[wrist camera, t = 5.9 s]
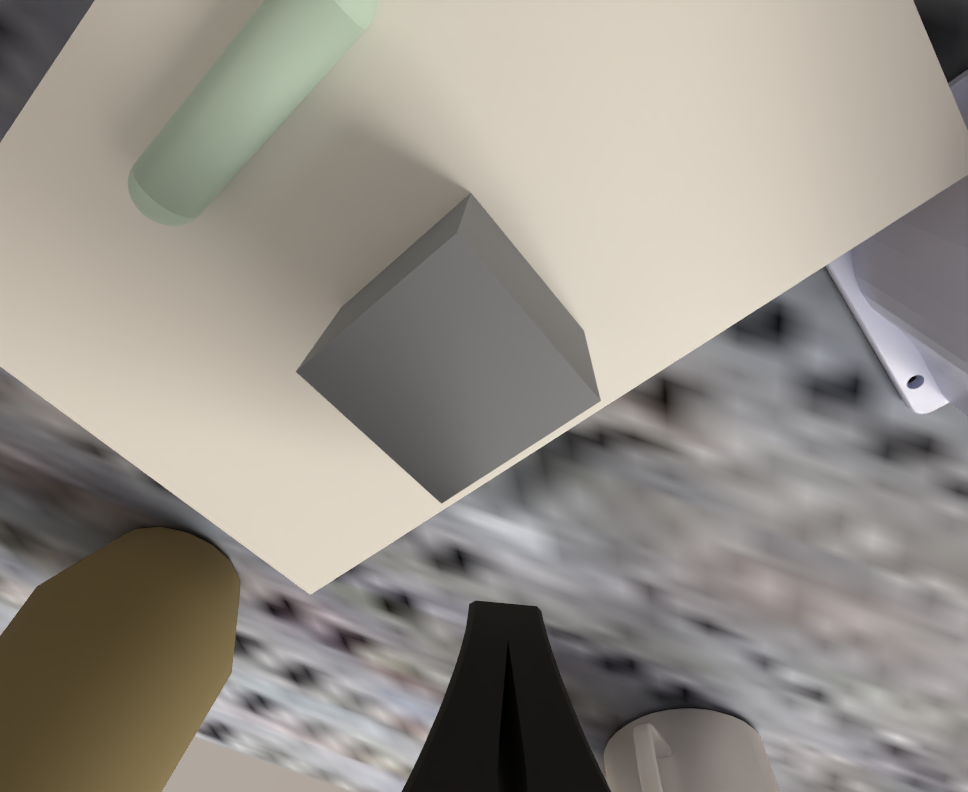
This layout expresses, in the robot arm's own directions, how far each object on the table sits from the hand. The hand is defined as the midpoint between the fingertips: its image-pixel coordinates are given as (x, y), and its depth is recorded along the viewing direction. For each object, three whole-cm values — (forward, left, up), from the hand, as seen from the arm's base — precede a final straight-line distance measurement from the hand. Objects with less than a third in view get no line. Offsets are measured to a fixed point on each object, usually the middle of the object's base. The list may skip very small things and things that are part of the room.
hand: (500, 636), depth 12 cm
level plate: (+7, -2, -5) cm, 9 cm away
